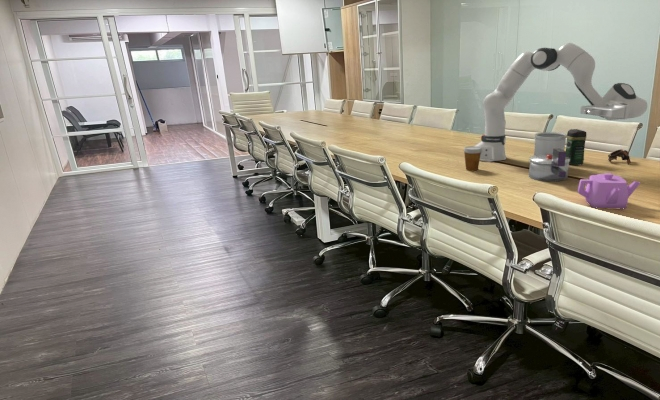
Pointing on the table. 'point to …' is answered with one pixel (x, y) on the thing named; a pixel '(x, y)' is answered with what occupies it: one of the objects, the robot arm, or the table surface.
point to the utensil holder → (549, 142)
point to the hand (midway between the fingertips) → (586, 112)
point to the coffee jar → (575, 146)
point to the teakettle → (606, 190)
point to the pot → (548, 172)
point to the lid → (552, 158)
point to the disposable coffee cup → (472, 157)
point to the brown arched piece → (619, 155)
